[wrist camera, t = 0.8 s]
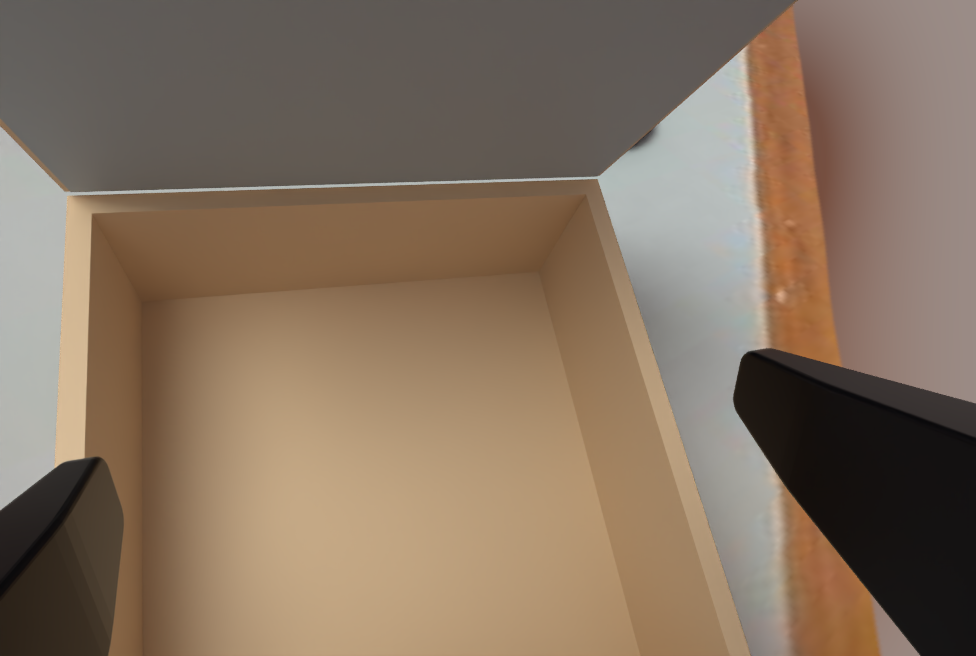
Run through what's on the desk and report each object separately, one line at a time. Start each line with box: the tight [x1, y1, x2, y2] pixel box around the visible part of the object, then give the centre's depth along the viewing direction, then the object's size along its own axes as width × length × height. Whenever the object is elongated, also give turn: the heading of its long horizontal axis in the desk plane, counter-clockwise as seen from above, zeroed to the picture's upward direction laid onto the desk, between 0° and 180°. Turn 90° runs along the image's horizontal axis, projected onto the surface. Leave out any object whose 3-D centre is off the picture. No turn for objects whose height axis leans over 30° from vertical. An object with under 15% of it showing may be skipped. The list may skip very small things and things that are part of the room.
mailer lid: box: [0, 0, 798, 192], centre depth 12 cm, size 16×16×1 cm
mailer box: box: [55, 179, 751, 656], centre depth 19 cm, size 16×16×6 cm
